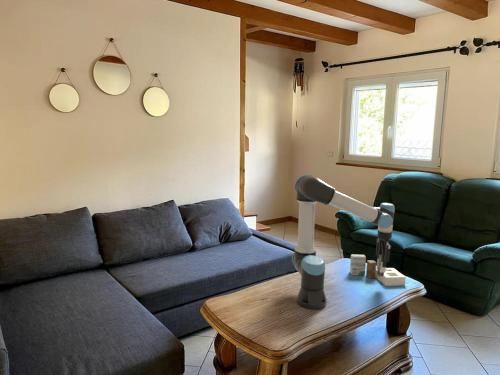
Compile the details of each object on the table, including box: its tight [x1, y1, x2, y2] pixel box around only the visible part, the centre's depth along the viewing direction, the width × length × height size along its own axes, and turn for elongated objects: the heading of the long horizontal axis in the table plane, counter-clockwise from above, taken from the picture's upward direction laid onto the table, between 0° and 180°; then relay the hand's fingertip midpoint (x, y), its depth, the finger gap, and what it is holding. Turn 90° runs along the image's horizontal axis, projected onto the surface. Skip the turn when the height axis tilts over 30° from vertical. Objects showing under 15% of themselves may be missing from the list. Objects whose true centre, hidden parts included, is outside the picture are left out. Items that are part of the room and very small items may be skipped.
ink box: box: [349, 254, 367, 276], centre depth 227 cm, size 9×5×12 cm, turn 84°
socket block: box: [375, 267, 406, 287], centre depth 218 cm, size 12×14×5 cm
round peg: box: [377, 254, 384, 276], centre depth 206 cm, size 4×4×12 cm
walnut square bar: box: [365, 259, 377, 279], centre depth 222 cm, size 4×4×10 cm
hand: (380, 270), depth 206 cm, fingers closed on round peg, 3 cm apart
